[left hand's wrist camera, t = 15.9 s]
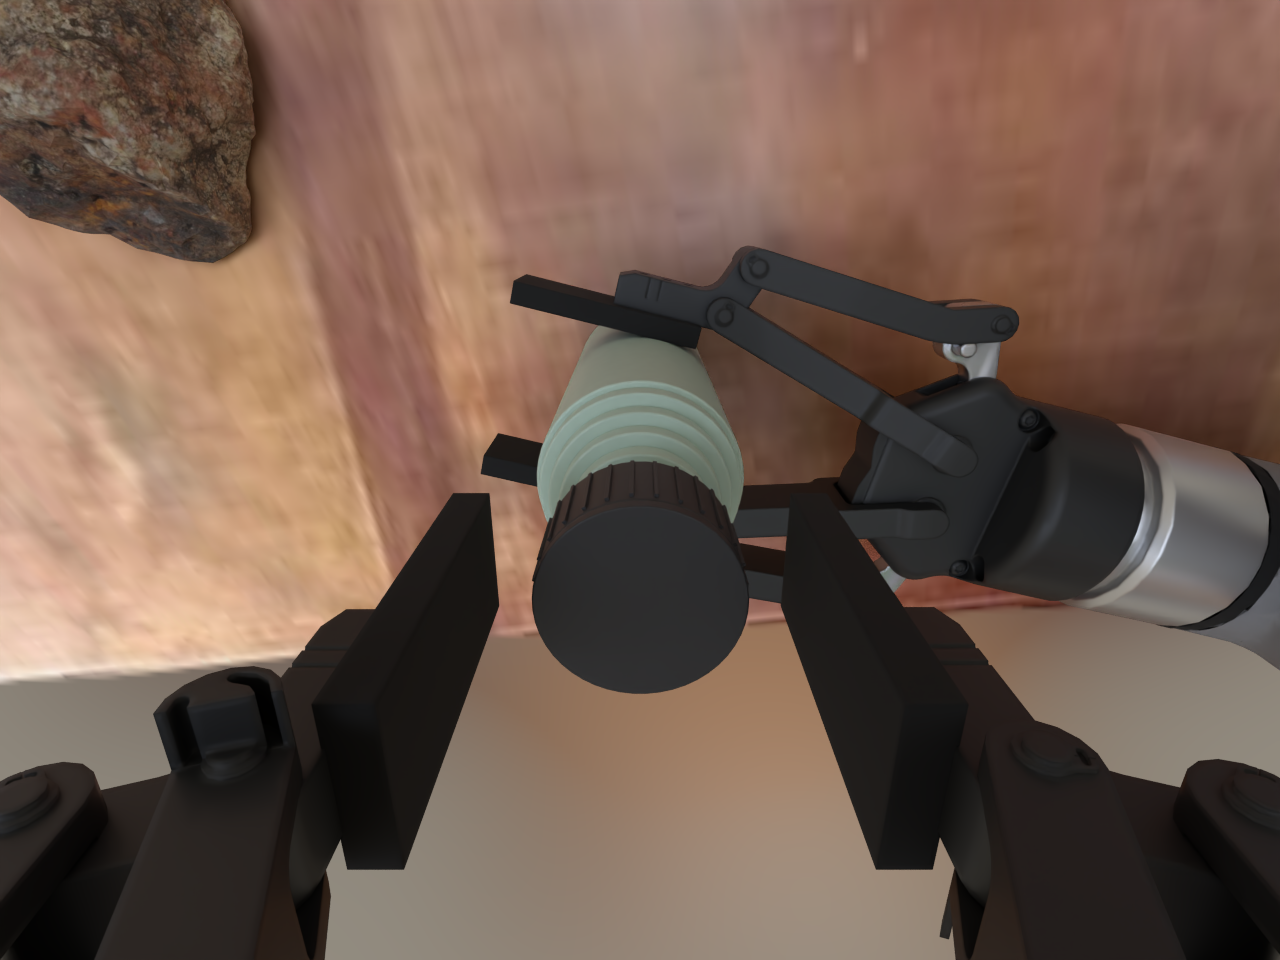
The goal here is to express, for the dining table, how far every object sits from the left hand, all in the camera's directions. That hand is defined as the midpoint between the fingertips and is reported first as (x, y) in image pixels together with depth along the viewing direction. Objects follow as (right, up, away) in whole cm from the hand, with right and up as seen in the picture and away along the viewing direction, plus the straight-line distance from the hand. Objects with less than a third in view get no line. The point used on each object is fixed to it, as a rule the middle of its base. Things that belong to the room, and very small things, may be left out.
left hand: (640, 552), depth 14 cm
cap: (0, -1, -2) cm, 2 cm away
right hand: (-5, +5, +11) cm, 13 cm away
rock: (-20, +18, +13) cm, 30 cm away
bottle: (0, +7, +17) cm, 18 cm away
